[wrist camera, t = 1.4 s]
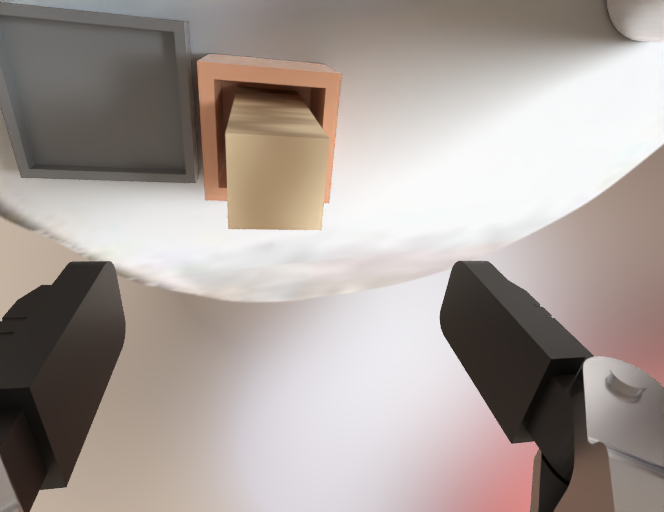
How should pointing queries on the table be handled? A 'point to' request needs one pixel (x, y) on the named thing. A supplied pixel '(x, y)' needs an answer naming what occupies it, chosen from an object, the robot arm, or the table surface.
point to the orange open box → (231, 71)
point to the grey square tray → (97, 95)
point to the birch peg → (274, 162)
